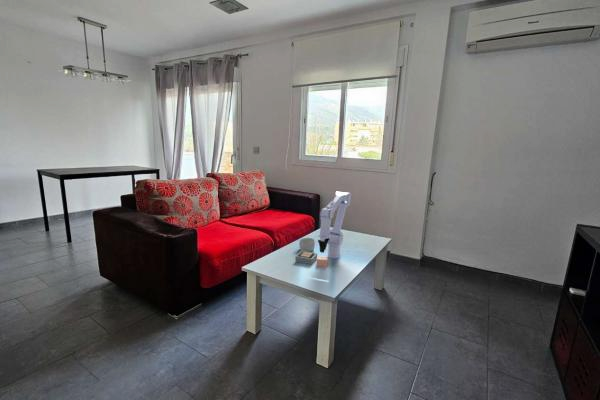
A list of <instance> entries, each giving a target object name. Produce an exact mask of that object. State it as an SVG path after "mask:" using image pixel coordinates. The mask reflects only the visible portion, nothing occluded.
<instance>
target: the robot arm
mask: <svg viewBox="0 0 600 400" xmlns="http://www.w3.org/2000/svg"><path fill="white" fill-rule="evenodd" d="M351 200H352V193H351V192H346V191H344V192H343V191H337V190H336V192H335V193H334V199H332V201H329V202H328V204H327V205H326V206H325V207H323V208H321V211H320V213H319V214H320V215H319V216H320V229H319V230H320V231H319V234H317V237H318V238H320V239H317V243H318V245H319V252H320V253H322V254H323V253H324V252H325V251H326V249H327V247H328V250H327V251H328V252H327V253H328V254H327V258H331V259H338V258H340V253H341V245H343V241H344V234H343V232H342V231H341V230H342V226H343V222H344V218H345V214H346V212H347V208H349V207H350V205H351V202H352V201H351ZM337 209H338V210H337ZM336 210H337V212H336ZM335 212H336V213H337V214H336V216H335V221H334V224H333V228H331V225H332V224H331V223H332V219H333V217H334V214H335Z"/></svg>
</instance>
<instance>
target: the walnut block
mask: <svg viewBox="0 0 600 400" xmlns="http://www.w3.org/2000/svg"><path fill="white" fill-rule="evenodd" d="M313 253H314V252H312V253H307V252H303V253H302V254H301V255H300V257H305V258H310V259H311V258H312V256H313Z"/></svg>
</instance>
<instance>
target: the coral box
mask: <svg viewBox="0 0 600 400" xmlns="http://www.w3.org/2000/svg"><path fill="white" fill-rule="evenodd" d="M328 265H329V257H328V256H326V257H325V256H320V255H319V256H317V259H316V266H318V267H319V266H320V267H324V268H326V267H327V266H328Z"/></svg>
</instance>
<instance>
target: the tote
mask: <svg viewBox="0 0 600 400" xmlns="http://www.w3.org/2000/svg"><path fill="white" fill-rule="evenodd" d="M303 252H306V251H302V250H300V251H299V253H297V254H296V255H295V257H294V258H295V263H298V264H304V265H308V266H312V265H314V263H315V262H317V258H318V252H312V251H311V252H307V253H313V256H312V258H311V259H310V258H305V257H300V255H301V254H302V253H303Z"/></svg>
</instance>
